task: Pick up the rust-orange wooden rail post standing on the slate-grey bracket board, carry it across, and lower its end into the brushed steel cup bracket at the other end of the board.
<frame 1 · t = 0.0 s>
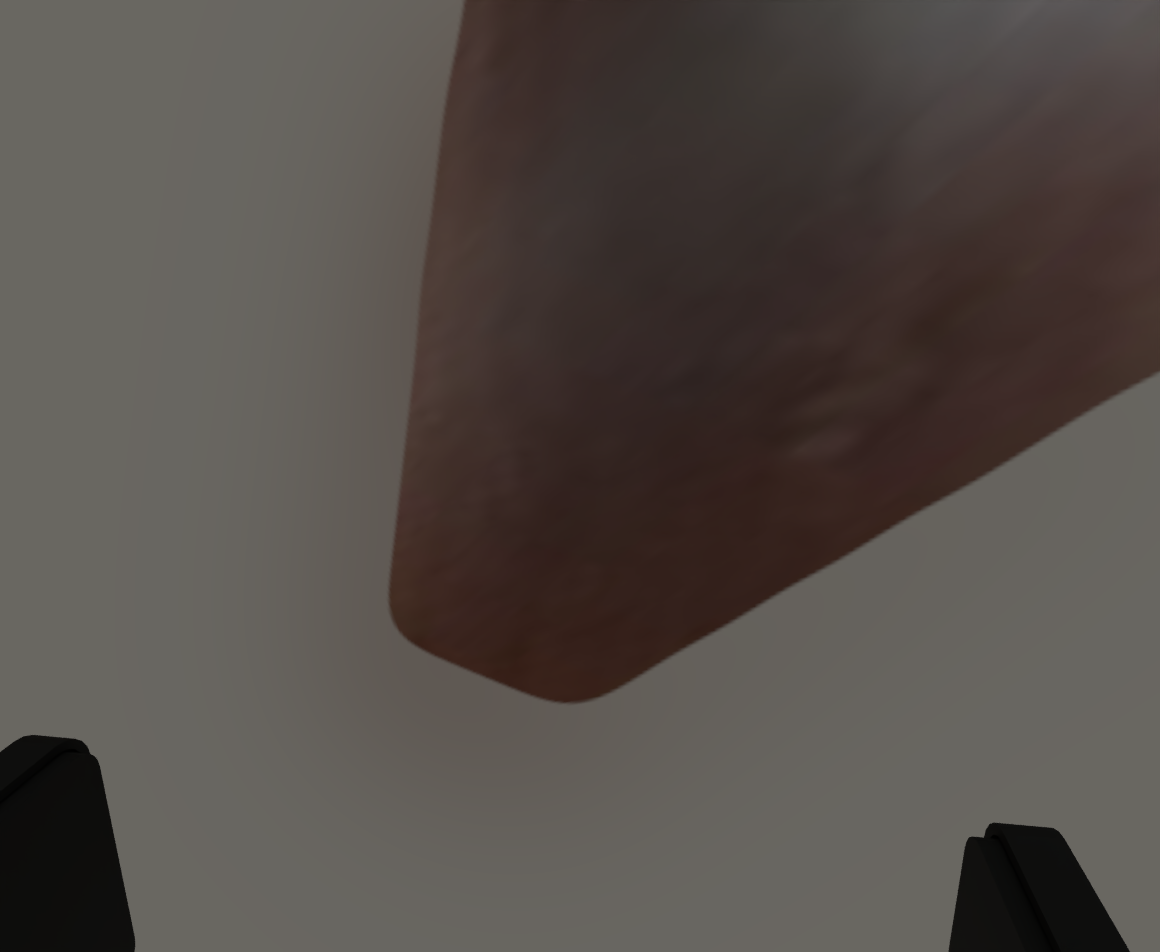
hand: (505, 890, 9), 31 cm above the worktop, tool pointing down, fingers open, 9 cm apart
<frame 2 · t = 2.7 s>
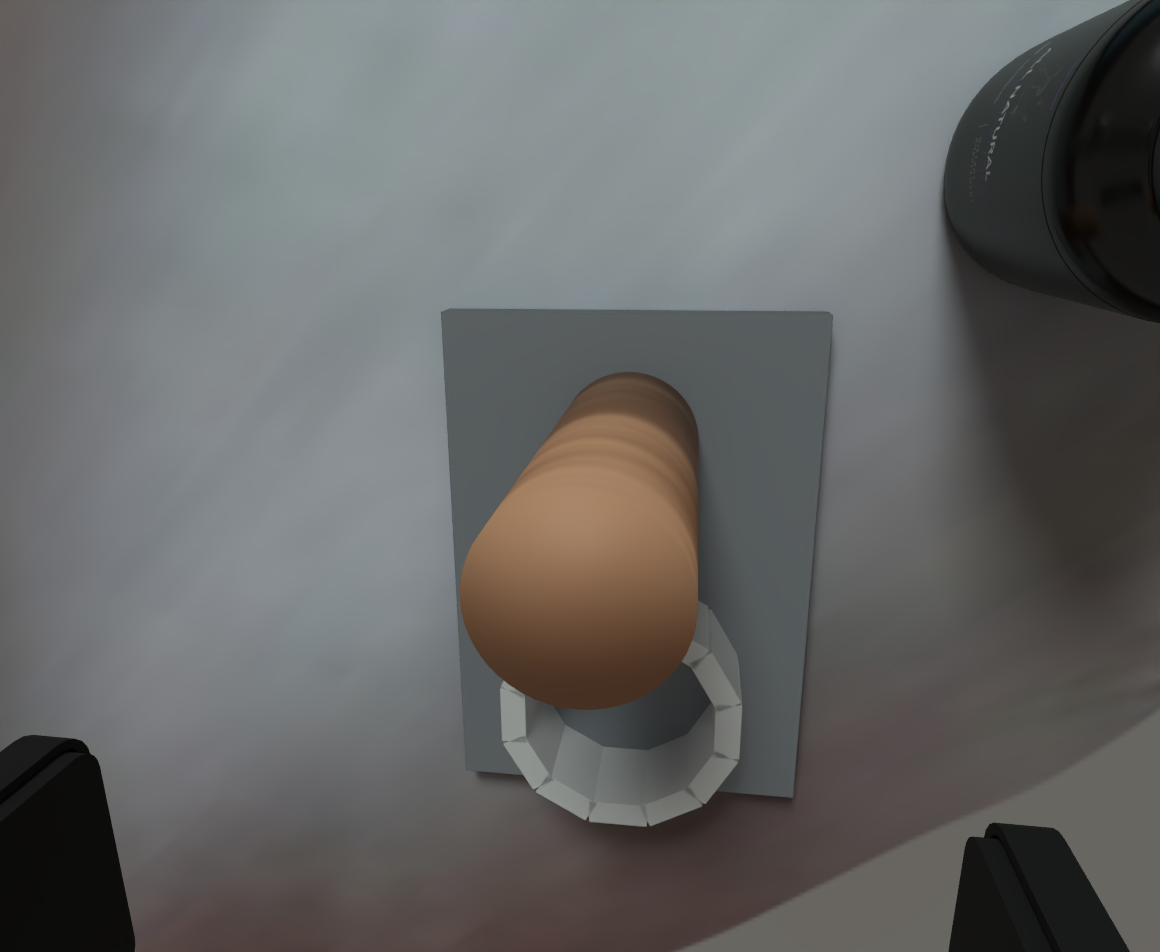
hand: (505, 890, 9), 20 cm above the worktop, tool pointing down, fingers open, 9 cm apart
rail post: (629, 440, 26), point 1 cm above the worktop, touching bracket board
bracket board: (630, 558, 29), on the worktop
supplement bottle: (1059, 171, 24), on the worktop
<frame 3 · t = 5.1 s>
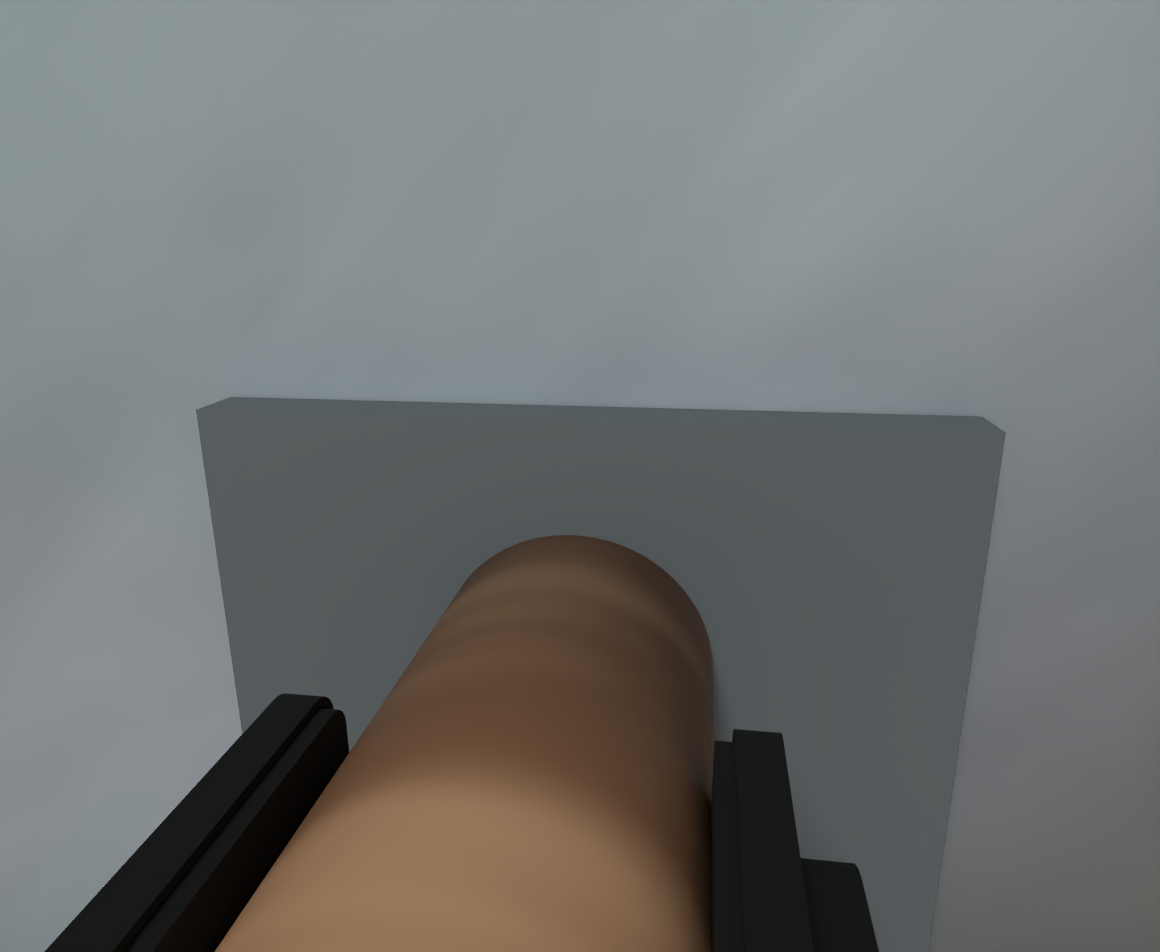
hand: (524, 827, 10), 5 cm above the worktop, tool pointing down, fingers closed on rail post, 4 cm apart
rail post: (574, 662, 13), point 1 cm above the worktop, touching bracket board, gripper
bracket board: (584, 848, 16), on the worktop
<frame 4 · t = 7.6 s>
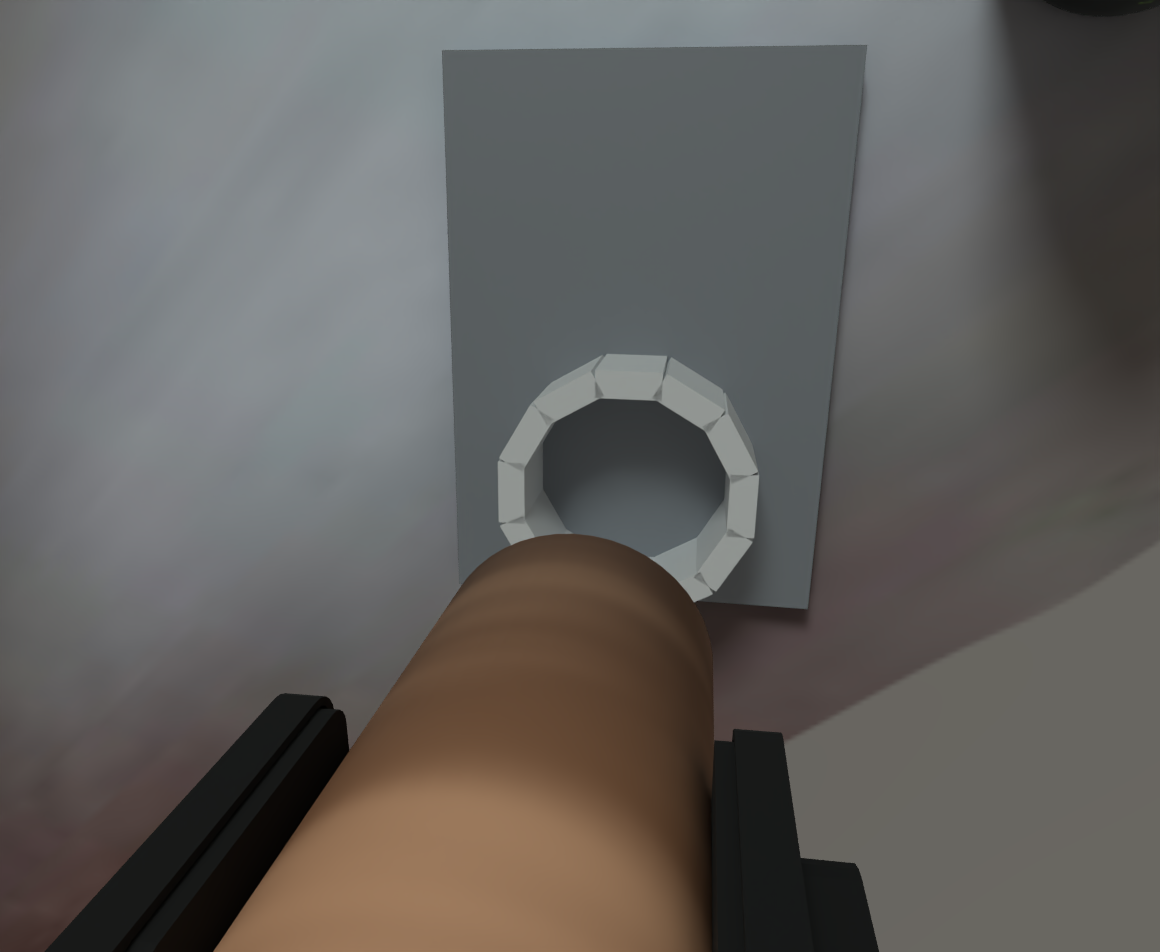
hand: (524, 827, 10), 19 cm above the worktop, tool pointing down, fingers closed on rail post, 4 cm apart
rail post: (574, 661, 13), point 15 cm above the worktop, touching gripper
bracket board: (639, 344, 27), on the worktop
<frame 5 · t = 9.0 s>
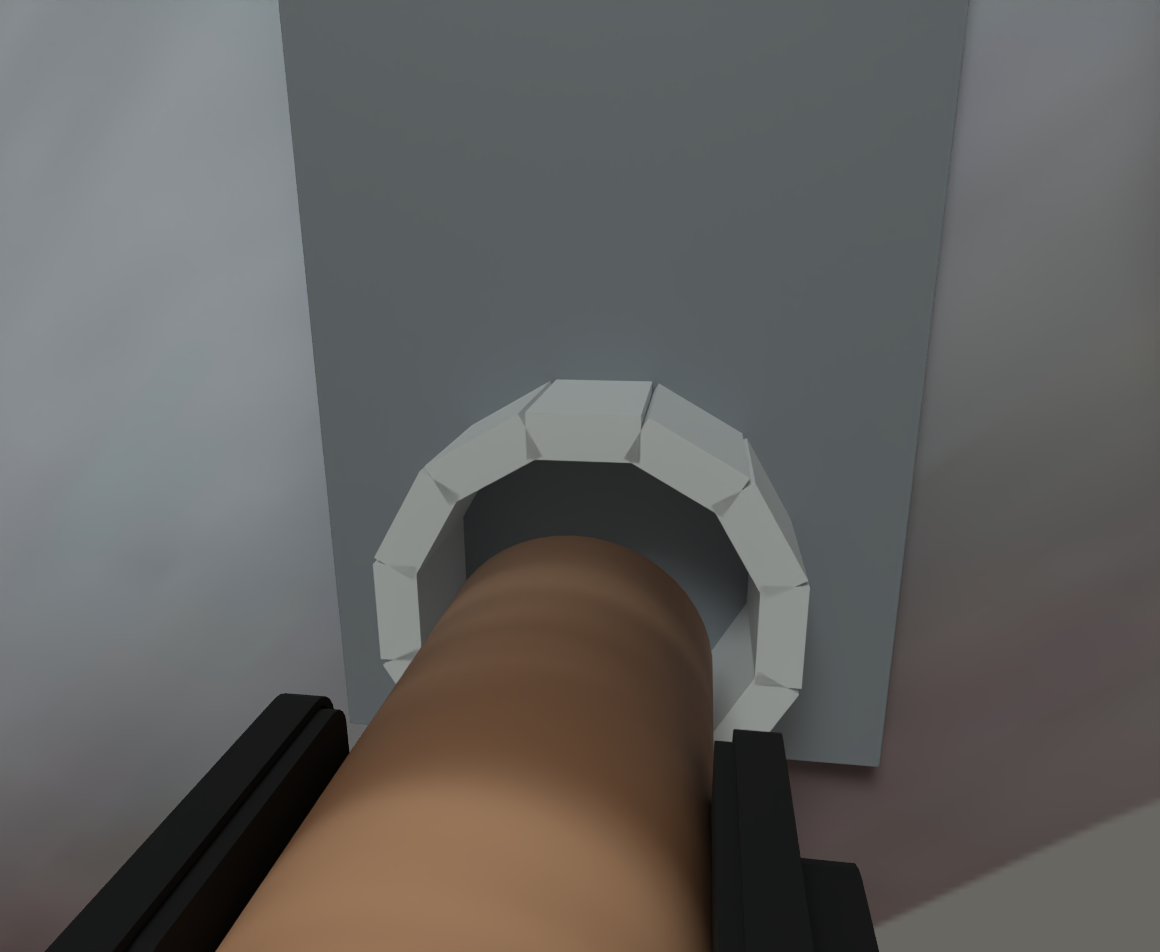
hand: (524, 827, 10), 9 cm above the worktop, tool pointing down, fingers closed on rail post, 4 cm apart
rail post: (574, 663, 13), point 5 cm above the worktop, touching gripper
bracket board: (609, 362, 17), on the worktop
when the fingers open (6 cm above the worktop, at t = 10.0 s): rail post stays where it is, resting on bracket board.
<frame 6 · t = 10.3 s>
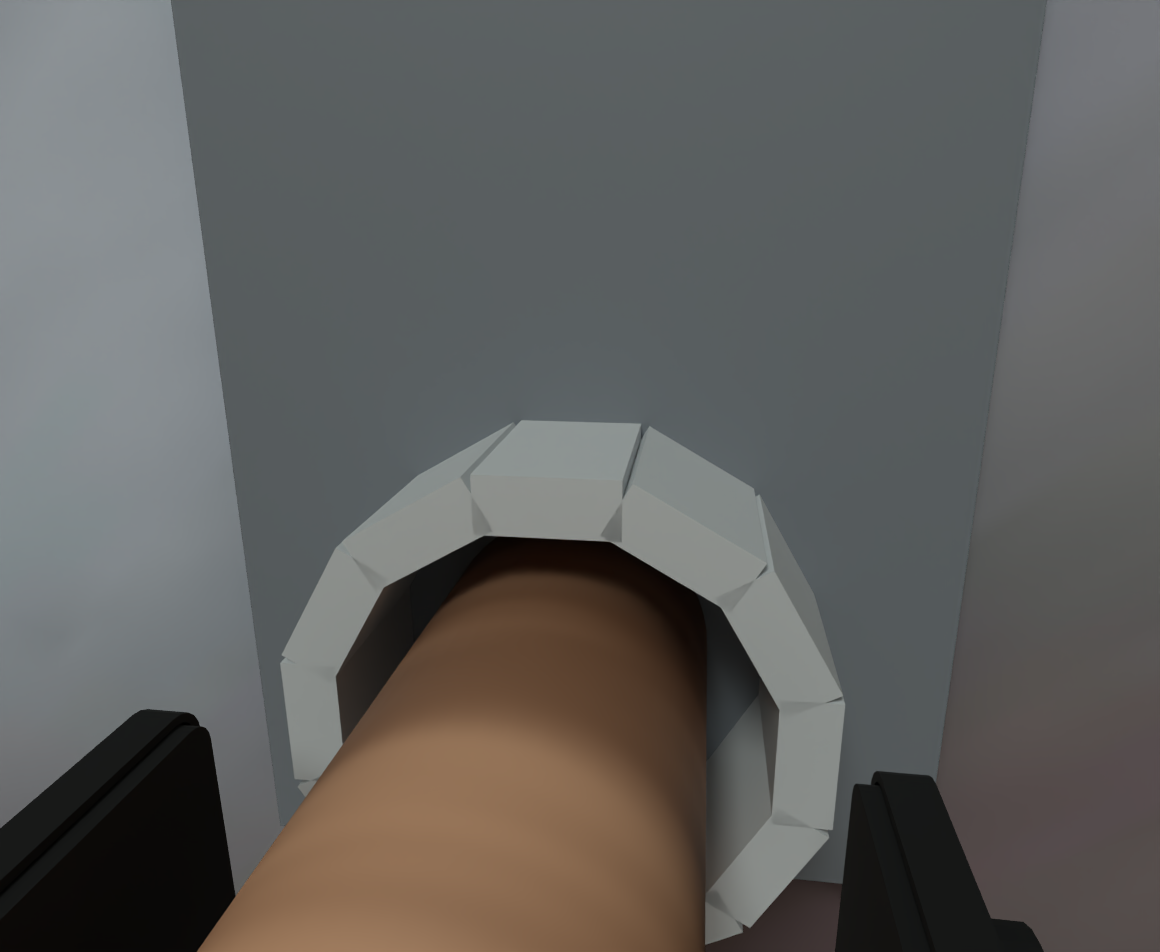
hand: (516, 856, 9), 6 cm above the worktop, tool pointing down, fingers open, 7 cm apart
rail post: (576, 637, 14), point 1 cm above the worktop, touching bracket board
bracket board: (589, 396, 14), on the worktop
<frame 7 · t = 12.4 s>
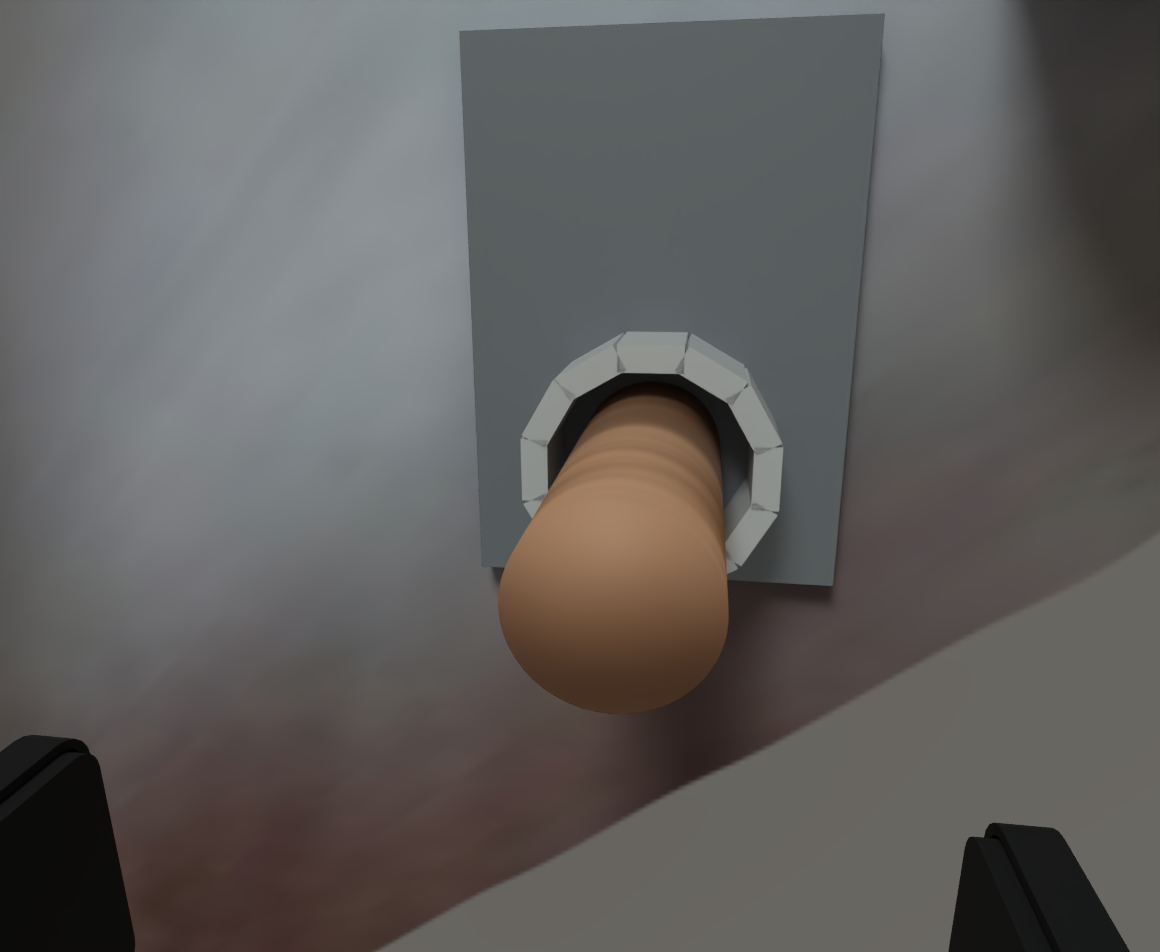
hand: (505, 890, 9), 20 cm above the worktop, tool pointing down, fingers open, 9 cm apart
rail post: (652, 447, 27), point 1 cm above the worktop, touching bracket board
bracket board: (659, 321, 27), on the worktop
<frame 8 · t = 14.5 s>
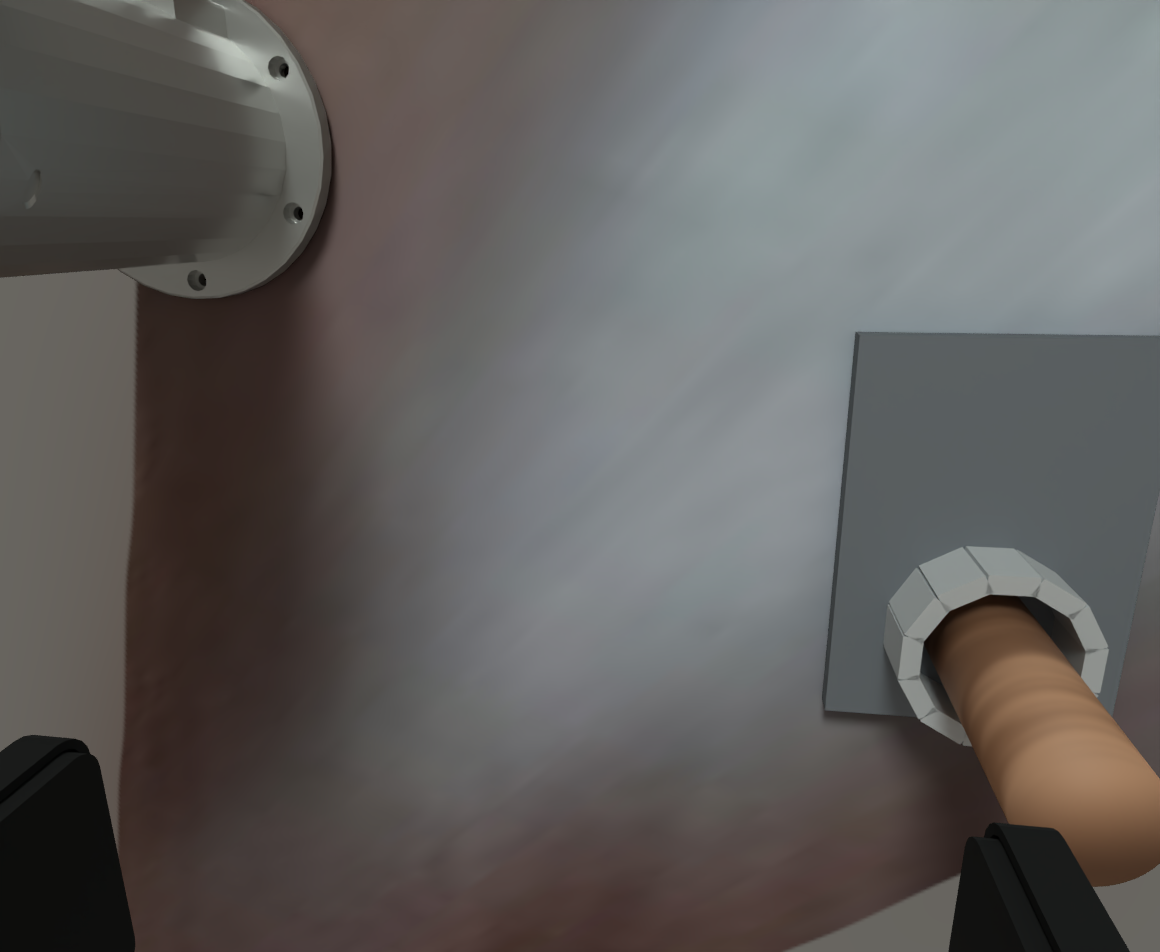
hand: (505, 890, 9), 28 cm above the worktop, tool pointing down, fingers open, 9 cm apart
rail post: (975, 629, 36), point 1 cm above the worktop, touching bracket board
bracket board: (982, 534, 35), on the worktop
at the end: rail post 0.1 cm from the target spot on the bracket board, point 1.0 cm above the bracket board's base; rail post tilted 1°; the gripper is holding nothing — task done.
